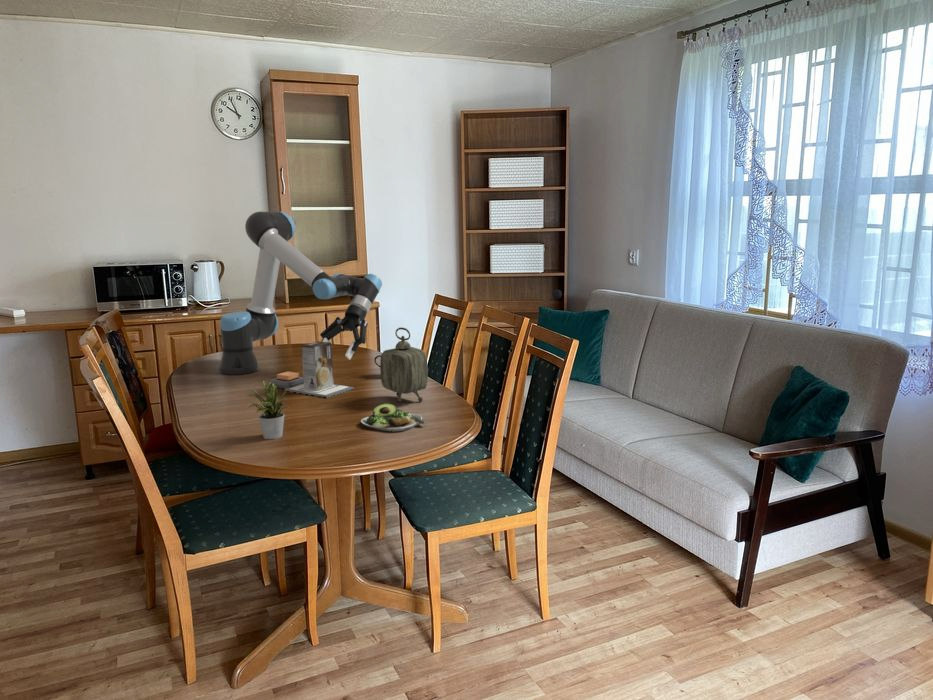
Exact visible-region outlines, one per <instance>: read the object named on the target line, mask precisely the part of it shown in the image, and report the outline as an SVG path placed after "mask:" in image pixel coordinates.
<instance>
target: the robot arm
mask: <svg viewBox="0 0 933 700" xmlns="http://www.w3.org/2000/svg"><path fill="white" fill-rule="evenodd" d="M244 226H245V227H244V228H245V233H246V235H247V237H248V238H249V240H250V241H251V242H252V243H253V244H254V245H256V246H257V247H258V248H259V253H258V260H257V264H256V265H257V267H256V270H255V272H256V273H255V276H254V283H253V289H252V295H251V296H252V297H251V302H249V304H247V305H246V309H245V311H243V310H241V311H240V310H239V311H234V312H227V313H225V314H223V315H222V316H221V318H220V321H219V322H220V325H219V327H220V335H221V347H222V348H221V349H222V354H221V358H220V363H219V367H218V368H219V369H218V371H219V373H220V374H222V375H227V376H228V375H229V376H230V375H235V376H236V375H245V374H252V373H255V372H257V371H259V370H260V369H259V363H258V360H257V357H256V355H255V353H254V348H253V346H254V345H253V342H257V341H260V340H266V339H268V338H269V337H272V336H274V335H275V333H276V332H277V330H278V329H279V318H277V314H276V309H275V308H274V299H275V293H276V287H277V282H278V276H279V270H280V264H281V263H282V264H283V265H284V266H286V267H287V268H288V269H289V270H291V272H293V273H294V274H295V275H296V276H298V277H299V278H300V279H301V280H303V281H304V282H305V283H306V284H307V285H309V286H310V287H311V288H312V292H313V294H314V296H315V297H316V298H317V299H320V300H330V299H332V298H337V297H338V298H339V297H342V296H349V297H350V296H351V297H352V299H351V301H350V302H349V305H348V306H347V308H346V309H345V313H344V317H343V318H340V317H339V316H337V317H336V318H335V319H334V321H333V322H332V323H330V324H329V325H328V326H327V327H326V328H325V329H324V330H323V331H322V332H320V334H319V336H320V337H321V338H322V339H321V341H320V342H330V340H332V339H333V338H334V337H336V336H337V335H339V334H340V333H343V332H347V331H349V332H352V335H353V340H352V341H351V343H350V345H349V346H348V348H347V350H346V353H345V355H344V356H345V358H346V359H347V360H348V361H350V360H351V359H352V357H353V355H354V353H355V352H356V351H357V350H358V348H359V346H360V345H365V344H366V341H367V340H366V339H367V327H368V325H369V324H368V322H367V321H366V317H367V314H368V313H369V311H370V309H371V308H372V305H373V304H374V301H375V300H376V298H377V296H378V294H380V291H381V288H382V286H383V281H382V279H381V278H380V277H379V276H377V275H376V274H373V273H367V274H365V276H364V277H363V278H361V277H355V276H351V275H348V274H345V273H334V274H333V275H332V276H330V275H329V274H327V272H325V271H324V270H323V269H322V268H320V267H319V266H318V265H317V264H316V263H314V262H313V261H312V260H310V259H309V258H308V257H307V256H305V254H304V253H302V252H301V251H300V250H298V249H297V248H296V247H294V246H293V245H292V243H290V242H289V241H290V240H291V239H292V238H293V237H294V236H295V233H296V226H295V221H294V220H293V219H292V217H291V216H290V215H289V214H288V213H286V212H283V211H277V210H275V211H274V210H273V211H263V210H262V211H256V212H253V213H251V214H250V215H249V216H248V218H247V219H246V221H245V225H244Z"/></svg>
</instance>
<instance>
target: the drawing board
mask: <svg viewBox="0 0 933 700" xmlns="http://www.w3.org/2000/svg"><path fill="white" fill-rule="evenodd" d="M290 389H291V390H290ZM351 389H353V390H354V386H349V385H348V386H347V385H342V384H336V383H334V385H333V386H330V387H328V388H325V389H322V390H319V391H313V390H306V389H304V383H303V384H299V385H296V386H293V387H289V388H286V389H284V391H285V390H286V391H289V392H288V393H293V392H296V393H295V394H299V393H302V394H301V395H305V394H308V395H307V396H311V395H314V396H313V397H317V396H321V397H320V398H323V397H326V398H325V399H329V398H332V397H334V396H333V395H335V396H338V395H340V393H341V394H343V392H344V393H347V392H349V390H350V391H352V390H351ZM286 391H285V392H286ZM346 391H347V392H346ZM337 394H338V395H337ZM331 396H332V397H331ZM328 397H329V398H328Z"/></svg>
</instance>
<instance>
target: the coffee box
mask: <svg viewBox="0 0 933 700" xmlns="http://www.w3.org/2000/svg"><path fill="white" fill-rule="evenodd" d="M332 350H333V349H332V342H330V341H329V342H321V341H320V340H319V341H315V342H310V343H306V344H302V345H301V358H302V359H301V361H302V374H303V376H302V377H303V378H304V389H306V390H313V391H319V390H322V389H325V388H328V387H330V386H333V385H334V384H335V383H334V369H333V368H334V367H333V351H332Z"/></svg>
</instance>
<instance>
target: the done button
mask: <svg viewBox="0 0 933 700" xmlns="http://www.w3.org/2000/svg"><path fill="white" fill-rule="evenodd" d="M298 377H300V373H299V372H294V371H284V372H280V373H276V378H277V379H283V380H291V379H295V378H298Z"/></svg>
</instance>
